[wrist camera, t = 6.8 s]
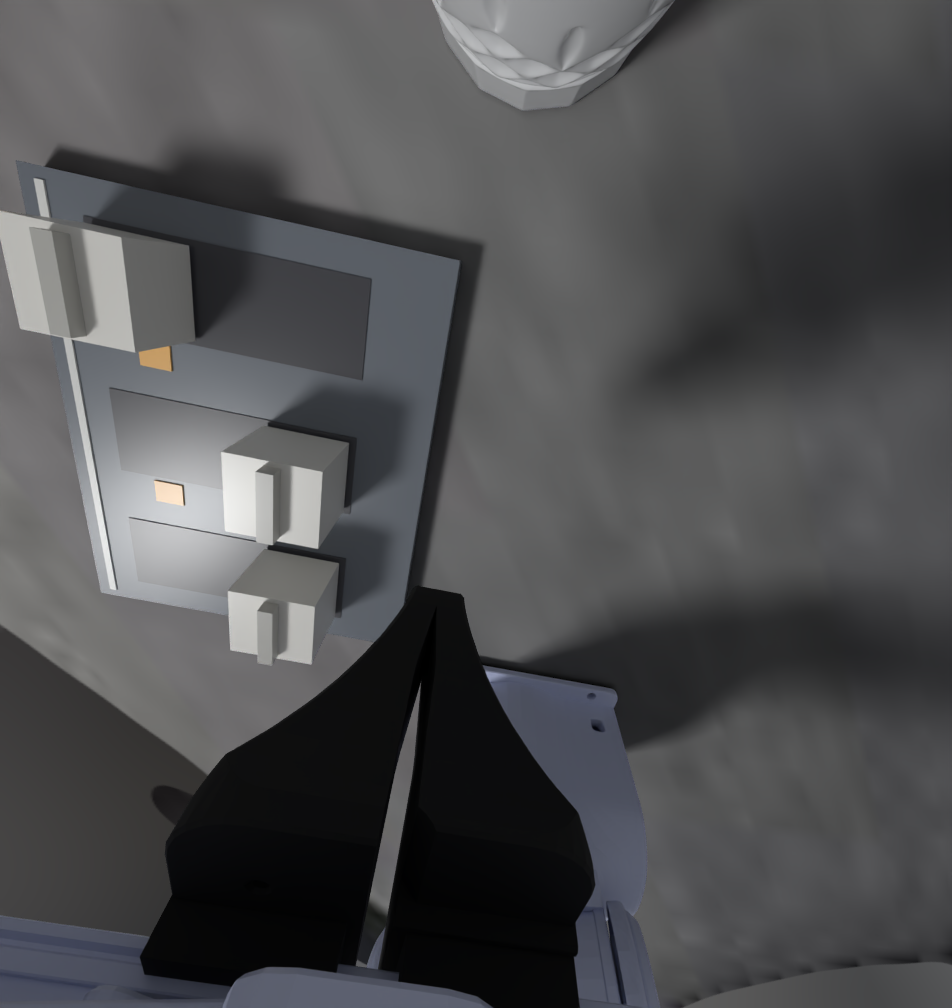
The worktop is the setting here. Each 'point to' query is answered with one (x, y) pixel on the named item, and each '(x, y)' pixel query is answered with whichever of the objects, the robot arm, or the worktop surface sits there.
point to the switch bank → (254, 396)
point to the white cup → (545, 44)
